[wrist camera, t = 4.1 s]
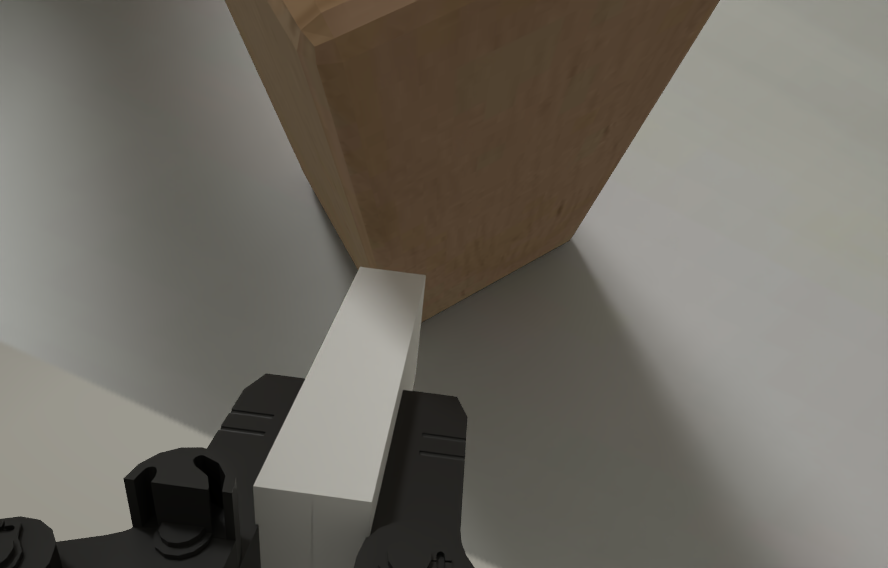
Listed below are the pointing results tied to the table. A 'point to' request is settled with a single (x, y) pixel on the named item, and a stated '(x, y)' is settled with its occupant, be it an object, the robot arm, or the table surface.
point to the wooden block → (462, 119)
